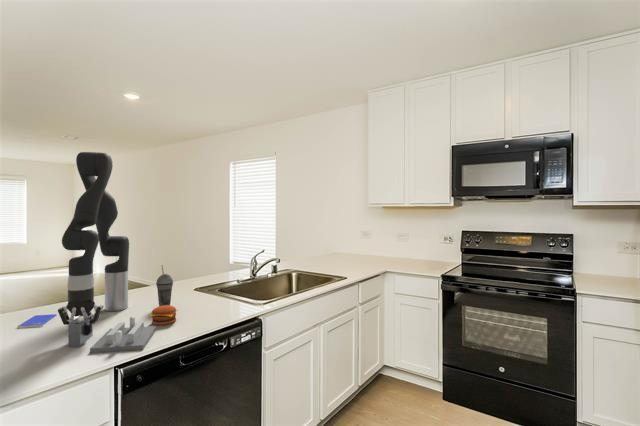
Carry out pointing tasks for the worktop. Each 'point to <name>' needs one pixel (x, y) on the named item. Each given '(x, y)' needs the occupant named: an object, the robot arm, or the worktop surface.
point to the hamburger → (163, 315)
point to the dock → (124, 338)
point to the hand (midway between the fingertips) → (81, 334)
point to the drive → (78, 332)
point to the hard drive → (37, 321)
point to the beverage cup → (164, 289)
